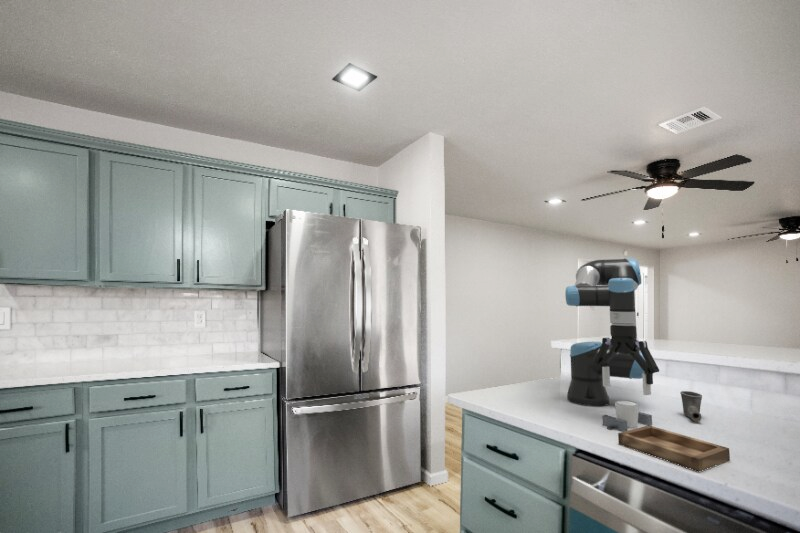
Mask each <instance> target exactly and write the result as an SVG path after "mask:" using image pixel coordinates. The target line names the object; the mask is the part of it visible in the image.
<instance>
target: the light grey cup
mask: <svg viewBox="0 0 800 533" xmlns="http://www.w3.org/2000/svg"><path fill="white" fill-rule="evenodd" d="M614 407H615V414H616V418H619V419H622V420H626V421H627V429H628V428H629V429H636V428H639V426H638V424H639V423H638V412H639V403H637V402H634V401H630V400H629V401H628V400H616V401H615V400H614Z"/></svg>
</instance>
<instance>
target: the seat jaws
mask: <svg viewBox="0 0 800 533" xmlns="http://www.w3.org/2000/svg"><path fill="white" fill-rule="evenodd" d="M652 416H653V415H652V414H650V413H645V412H641V411H638V424H643V425H645V426H648V425H650V426H653V417H652ZM601 420H602V426H604V427H606V430H609V431H611V430H616V431H620V432H624V431H628V427H627V421H626V420H622V419H619V418H617V417H615V416H612V415H608V414H605V415H602V419H601Z"/></svg>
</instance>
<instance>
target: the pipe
mask: <svg viewBox="0 0 800 533" xmlns="http://www.w3.org/2000/svg"><path fill="white" fill-rule="evenodd" d="M680 398H681V403H682V411H683V415H684V416H685V417H688V418H690V419H691V420H692V421H693V422H695V423H696V422H700V421H702V413H700V412H701V404H702V399H703V395H702V394H700V393H699V392H695V391H688V390H685V391H684V390H682V391H680Z"/></svg>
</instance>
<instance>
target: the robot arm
mask: <svg viewBox="0 0 800 533" xmlns="http://www.w3.org/2000/svg"><path fill="white" fill-rule="evenodd" d="M575 280H576V281H575V283H574V285H569V286H567V287H565V296H564V297H565V302H566V305H567V306H571V307H609V323H610V326H609V327H610V328H609V329H610V336H611V338H610V337H602V339H601V340H602V341H585V342H584V341H583V342H576V343H574V344H573V343H572V345H571V346H570V354H569V357H570V376H571V378H570V383H569V386H568V390H567V392H566V397H567V398H566V399H567V401H569V402H571V403H574V404H577V405H582V406H590V407H591V406H593V407H604V406H608V405H609V404H610V396H609V395H608V391H607V389H606V387H610V386H611V379H610V378H611V377H612V378H621V379H630V380H632V379H635V380H637V379H638V380H640V379H641V380H642V393H643V394H642V395H643V396H651V395H652V389H651V387H652V385H653V384H654V380H653V379H654V378H653V377H654V374H655V373H659V372H660V368H659V367H658V365H657V362H656V360H655V359H654V358H653V355H652V354H651V351H650V350H649V347H648V342H647V340H640V341H639V339H638V332H637V331H638V329H637V316H636V315H637V314H636V293H635V291H637V289H638V287H639V286H640V285H641V284H642V273H641V268H640V265H639V263H638V261H637V260H636V259H635V258H626V257H624V258H619V259H618V258H617V259H613V258H611V259H596V260H591V261H587V263H585V264H583V265H581V266H580V267H579V268H578V269H577V271H576V273H575Z"/></svg>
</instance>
